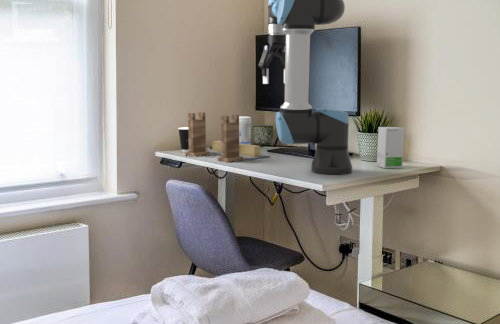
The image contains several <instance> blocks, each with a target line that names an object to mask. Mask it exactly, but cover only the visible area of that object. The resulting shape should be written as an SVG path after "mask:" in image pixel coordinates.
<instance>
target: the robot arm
mask: <svg viewBox="0 0 500 324" xmlns="http://www.w3.org/2000/svg"><path fill="white" fill-rule="evenodd" d="M345 7H346V6H345V2H344V0H268V3H267V16H268V17H267V18H268V20H267V23H268V24H267V25H268V26H267V27H268V28H267V34H268V36H267V43H268V44H269V45H263V52H262V53H261V58H260V60H259V63H258V68H260V69H261V75H262V84H263V85H268V84H270V83H269V80H270V79H269V75H270V74H269V73H270V72H269V68H268V67H269V65H270V63H271V62H272V60H273V59H274V58H275V57H278V58H279V59H280V61H281V63H282V65H283V84H284V102H283V104H281V105H280V109H279V110H280V111H277V112H276V113H275V127H276V133H277V137H278V140H279V141H280V143H282V144H285V145H287V144H289V145H297V144H298V145H300V144H301V145H302V144H304V145H306V144H311V145H312V144H315V143H316V145H315V153H314V156H313V159H312V161H311V162H312V163H311V166H310V167H311V168H310V169H311V170H310V172H313V173H316V174H321V175H347V174H351V173H352V172H353V164H352V161H351V157H350V154H349V125H350V123H349V113H348V112H347V111H345V110H339V109H331V108H324V107H318V108H316V111H313V106H312V105H311V104H310V103H309V91H310V90H309V88H310V87H309V86H310V83H309V82H310V81H309V80H310V51H311V49H310V47H311V45H310V44H311V34H312V33H313V32H315V26H324V25H325V26H326V25H330V24H333V23H336V22H337V21H339V20H340V19H341V18H342V17H343V15H344V14H345V10H346V8H345ZM284 44H285V45H284Z"/></svg>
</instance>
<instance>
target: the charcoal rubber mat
mask: <svg viewBox="0 0 500 324" xmlns="http://www.w3.org/2000/svg"><path fill="white" fill-rule="evenodd" d="M207 151H209V155H216V156H222V152H217V151H212V149H209V150H207ZM239 156H243V160H249V161H253V160H259V159H260V160H261V159H264V158H265V159H266V158H271V155H270V154H269V155H268V154H261V153H260V156H258V157H251V156H244V155H239Z"/></svg>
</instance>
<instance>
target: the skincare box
mask: <svg viewBox="0 0 500 324" xmlns="http://www.w3.org/2000/svg"><path fill="white" fill-rule="evenodd" d="M377 128H378V129H377V132H378V133H377V149H376V150H377V152H376V153H377V154H376V166H377V167H379V168H381V169H382V168H383V169H402V168H403V166H404V165H403V164H404V162H403V161H404V147H405V146H404V142H405V127H397V126H378V127H377Z"/></svg>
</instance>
